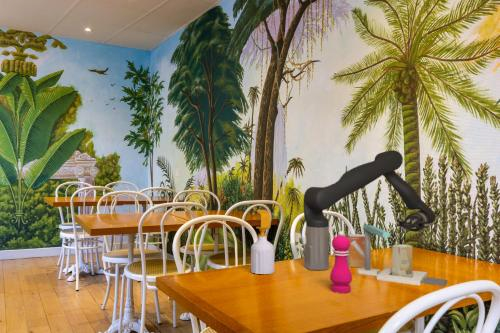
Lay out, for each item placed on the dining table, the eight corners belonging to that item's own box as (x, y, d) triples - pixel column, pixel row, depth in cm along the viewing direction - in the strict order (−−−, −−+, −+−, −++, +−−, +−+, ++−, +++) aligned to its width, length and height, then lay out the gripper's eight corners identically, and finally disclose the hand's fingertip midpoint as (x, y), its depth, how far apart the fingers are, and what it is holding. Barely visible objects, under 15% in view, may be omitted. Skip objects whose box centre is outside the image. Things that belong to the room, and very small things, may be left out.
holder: (353, 276, 162) (353, 232, 162) (365, 268, 174) (365, 227, 174) (419, 285, 149) (419, 237, 149) (427, 276, 162) (427, 232, 162)
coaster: (423, 283, 152) (423, 281, 152) (426, 278, 158) (426, 277, 158) (444, 285, 149) (444, 284, 149) (447, 281, 155) (447, 279, 155)
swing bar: (362, 229, 168) (362, 224, 168) (370, 229, 168) (370, 224, 168) (381, 237, 147) (381, 232, 147) (390, 237, 148) (390, 232, 148)
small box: (349, 267, 176) (349, 236, 176) (347, 264, 183) (347, 233, 183) (369, 267, 176) (369, 236, 176) (366, 264, 182) (366, 233, 182)
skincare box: (400, 280, 156) (400, 247, 156) (391, 277, 160) (391, 245, 160) (413, 278, 159) (412, 245, 159) (403, 275, 163) (403, 243, 163)
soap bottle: (267, 268, 174) (267, 208, 174) (278, 273, 166) (278, 210, 166) (247, 271, 170) (247, 209, 170) (257, 276, 162) (257, 211, 162)
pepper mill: (354, 289, 145) (354, 230, 145) (349, 295, 138) (349, 233, 138) (333, 286, 148) (333, 229, 148) (327, 292, 141) (327, 231, 141)
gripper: (400, 212, 186) (390, 216, 171) (432, 213, 179) (425, 218, 165) (400, 229, 186) (390, 234, 171) (432, 231, 179) (425, 237, 165)
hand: (407, 226), depth 168 cm, fingers closed
